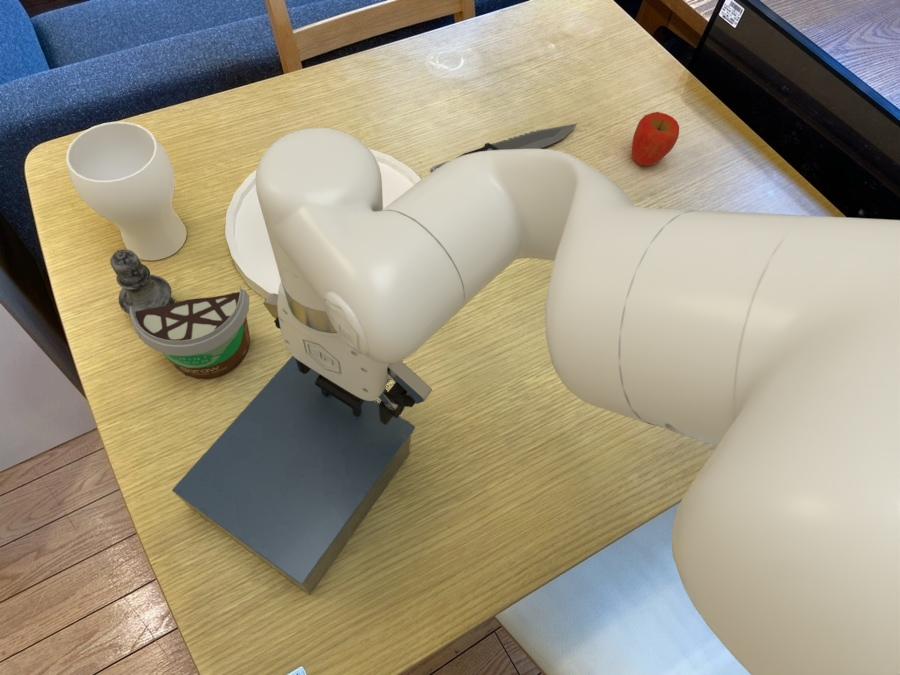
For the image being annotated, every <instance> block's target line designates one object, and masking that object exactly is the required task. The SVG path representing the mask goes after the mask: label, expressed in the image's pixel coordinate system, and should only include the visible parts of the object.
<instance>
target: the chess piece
mask: <svg viewBox="0 0 900 675" xmlns="http://www.w3.org/2000/svg"><path fill="white" fill-rule="evenodd" d="M109 263H110V266H111V269H112V270H113V271H114V273H115V275H116V283H117V284H118V285H119V287H120V288H121V290H120V291H119V294H118V304H119V307H120V309H121V310H122V311H123V312H124V313H126V315H127V314H128V315H129V316H130V311H129V310H130V306H131V307H132V308H133V309H134V310H135V311H140V310H146V309H152V308H157V307H162V306H166V305H170V304H174V303H177V302H176V300H175V299H174V298H173V297H172V287H171V285H170V283H169V282H168V281H167V279H165V278H163V277H161V276H159V275H155V274H151V271H150V268H149V267H148V266H147V265H145V264H143V263H142V262H141V259H139V258H138V256H137V255H136V254H135V253H134V252H133V251H131V250H127V249H126V248H125V249H123V248H122V249H117V250H116V251H115V252H114V253H113V254H112V255H111V257H110V260H109Z"/></svg>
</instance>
